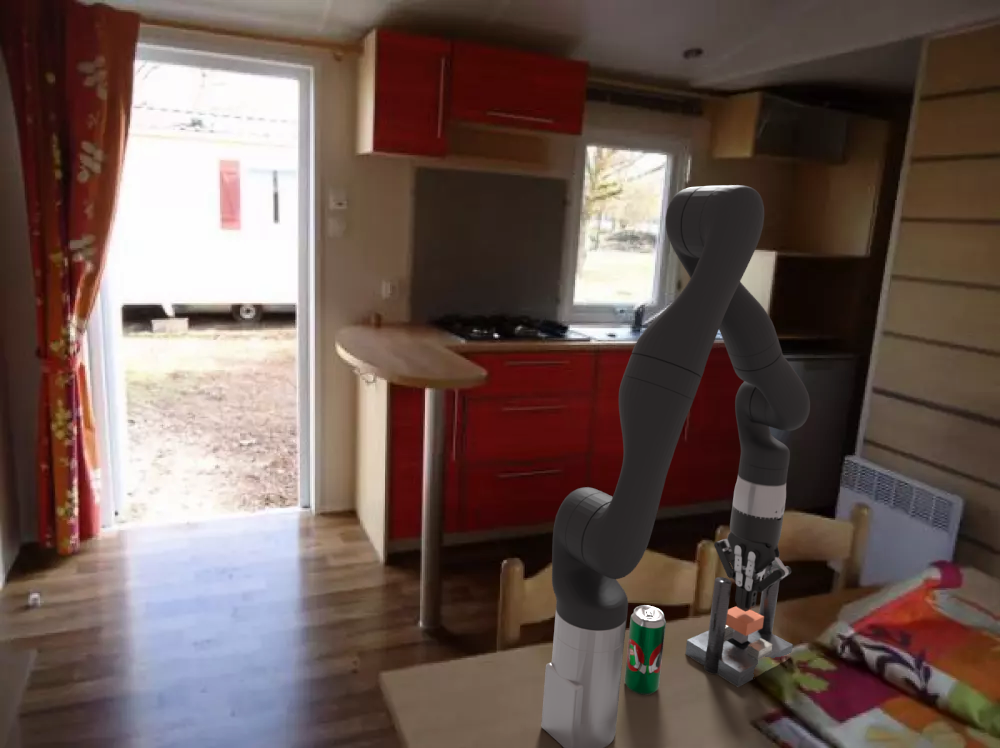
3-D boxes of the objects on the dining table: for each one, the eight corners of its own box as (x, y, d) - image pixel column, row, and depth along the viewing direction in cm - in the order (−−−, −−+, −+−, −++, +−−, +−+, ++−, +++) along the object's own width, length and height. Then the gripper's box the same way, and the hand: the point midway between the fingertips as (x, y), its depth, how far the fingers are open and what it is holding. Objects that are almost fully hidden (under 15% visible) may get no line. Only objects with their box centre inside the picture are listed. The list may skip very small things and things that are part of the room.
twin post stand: (734, 689, 107) (746, 597, 104) (681, 655, 115) (691, 569, 112) (793, 656, 116) (806, 571, 113) (741, 628, 124) (752, 547, 121)
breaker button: (743, 650, 112) (747, 624, 111) (720, 636, 115) (723, 611, 114) (760, 642, 114) (764, 616, 113) (737, 629, 118) (740, 604, 117)
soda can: (656, 677, 108) (664, 605, 106) (660, 698, 104) (668, 623, 101) (623, 674, 109) (630, 602, 107) (625, 695, 104) (633, 620, 102)
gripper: (707, 496, 113) (696, 596, 117) (782, 526, 103) (767, 635, 106) (736, 488, 118) (724, 585, 121) (811, 516, 107) (795, 621, 111)
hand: (744, 608), depth 114 cm, fingers closed
